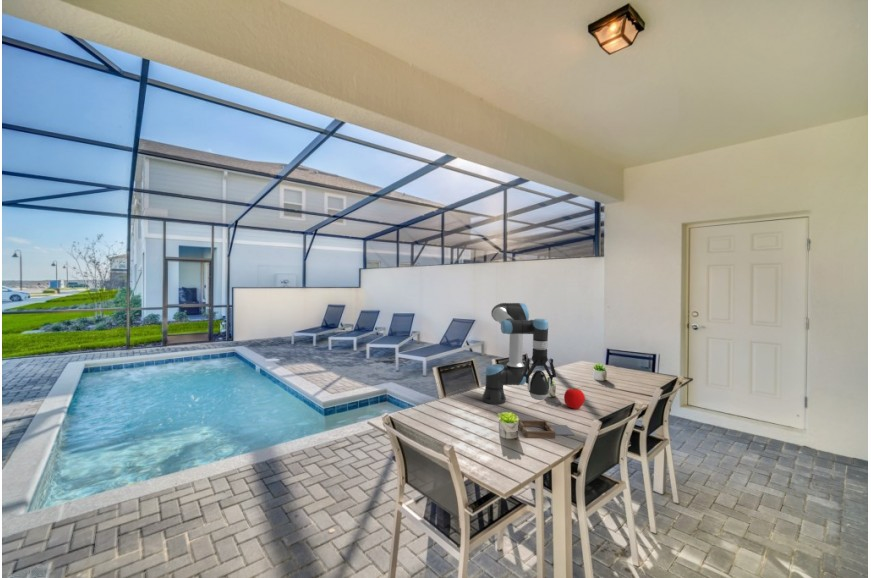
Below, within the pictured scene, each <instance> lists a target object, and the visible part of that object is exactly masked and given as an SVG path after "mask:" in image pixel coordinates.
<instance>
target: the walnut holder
mask: <svg viewBox="0 0 871 578" xmlns="http://www.w3.org/2000/svg"><path fill="white" fill-rule="evenodd" d="M550 425H551V424H550V423H549V421H547V420H529V419H528V420H523V419H519V420H518V427H519V430H520V431H521V433H522V434H523V436H524V438H525V439H526V438H527V439H556V435H555V431H554V430H553V429H552V427H551V426H550ZM527 427H528V428H529V427H534V428H535V427H536V428H538V427H540V428H541V427H543V428H545V429H546V430H545V431H544V430H543V431H542V430H541V431H538V430H528V429H527Z"/></svg>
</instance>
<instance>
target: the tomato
mask: <svg viewBox="0 0 871 578" xmlns="http://www.w3.org/2000/svg"><path fill="white" fill-rule="evenodd" d="M585 396H586V395H585V394H584V392H583V391H582V390H581V389H579V388H575V387H571V388H568V389H566V390H565V392H564V395H563V401H564V402H565V405H566V406H567V407H569V409H570V408H571V409H574V410H575V409H577V410H578V409H580V408H581V407H582V406H583V405H584V403H585V401H586V397H585Z"/></svg>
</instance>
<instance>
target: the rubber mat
mask: <svg viewBox="0 0 871 578" xmlns="http://www.w3.org/2000/svg"><path fill="white" fill-rule="evenodd" d="M549 425H550V426H551V427H552V429H553V430H554V431H555V436H575V433H574V432H573V431H572V429H570V427H569V426H568V425H567V424H566V425H565V424H549Z"/></svg>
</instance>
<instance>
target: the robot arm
mask: <svg viewBox="0 0 871 578" xmlns="http://www.w3.org/2000/svg"><path fill="white" fill-rule="evenodd" d="M490 314H491V317H492V319H493V320H494V321H495V322H497V323H499V324H500V330H501V333H502V334H503V335H504V334H506V335H509V344H508V345H509V349H508V351H509V352H508V362H507V363H506V366H504V365H503V364H501V363H500V364H498V363H497V364H496V363H495V364H489V365H488V366H487V367H486V368H485V389H484V392H483V394H482V401H483V402H484V403H487V404H490V405H491V404H492V405H502V404H505V403H506V402H507V401H506V398H507V397H506V393H505V391H504V386H523V385H525V384H527V388H526V389H527V390H528V391H529V390H530V381H531V377H530V376H531V375H532V373H534V370H535V368H536V367H544V369H545V371H546V373H547V375H548V377H547V382H548V388H549V392H550V391H551V385H553V379H554V378H557V374H556V369H555V366H554V359H553V358H549V357H548V345H549V344H548V343H549V342H548V337H549V321H548V319H546V318H545V319H544V318H534V319H529V318H530V312H529V308H528V306H527V305H526V304H525V303H522V302H501V303H498V304H496V305H495V306H493V307H492V310H491V313H490ZM524 335H532V356H531V357H526V359H525V360H526V362H525V364H524V363H523V349H524V348H523V346H524V345H523V344H524V342H523V341H524ZM531 362H532V363H531ZM530 363H531V364H532V365H531V366H530ZM547 363H549V367H550V370H551V371H550V370H549V368H548V365H547ZM529 367H530V368H529Z"/></svg>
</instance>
